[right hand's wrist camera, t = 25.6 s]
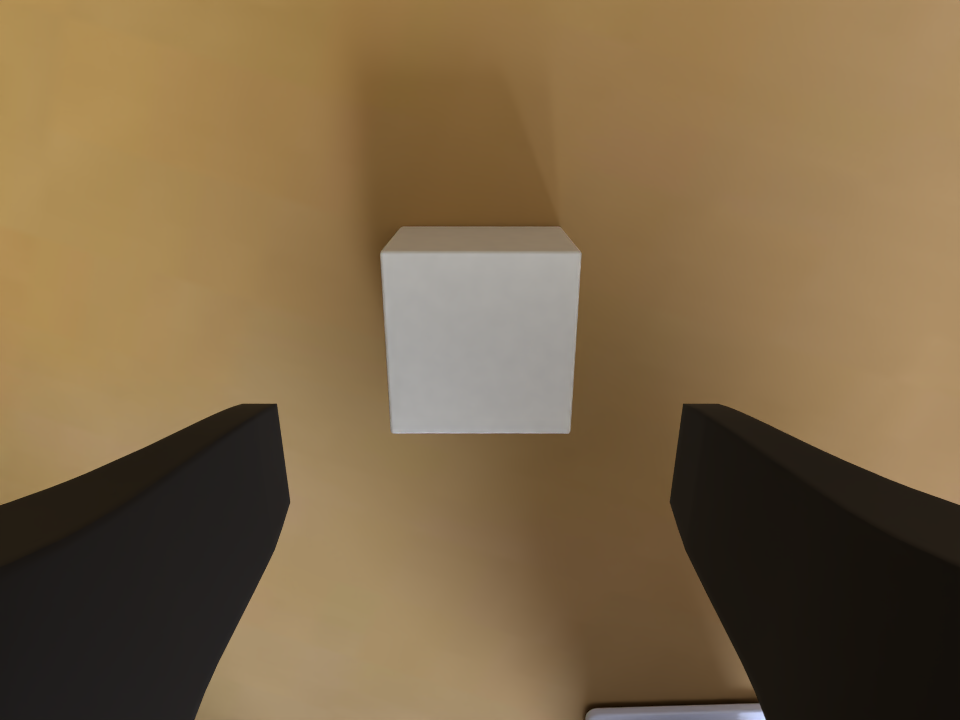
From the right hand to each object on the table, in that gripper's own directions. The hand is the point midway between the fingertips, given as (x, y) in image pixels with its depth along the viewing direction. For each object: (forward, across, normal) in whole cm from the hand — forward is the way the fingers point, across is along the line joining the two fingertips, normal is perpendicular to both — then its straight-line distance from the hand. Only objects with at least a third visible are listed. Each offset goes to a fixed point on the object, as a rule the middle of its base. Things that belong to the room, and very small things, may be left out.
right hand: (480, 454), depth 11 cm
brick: (+9, 0, 0) cm, 9 cm away
